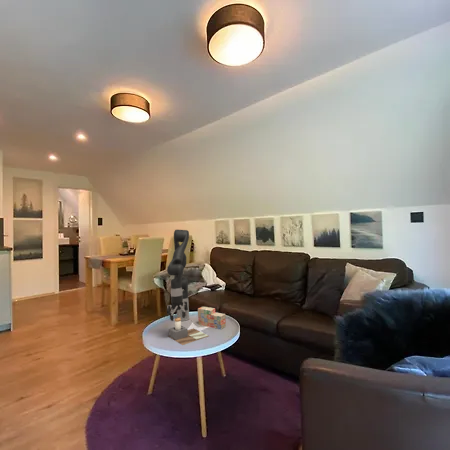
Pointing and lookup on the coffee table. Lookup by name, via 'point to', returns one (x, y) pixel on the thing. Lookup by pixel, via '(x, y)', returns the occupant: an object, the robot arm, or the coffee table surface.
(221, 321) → the stack of blocks
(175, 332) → the grey square frame
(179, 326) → the plug
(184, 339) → the base board
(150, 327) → the coffee table surface
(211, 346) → the coffee table surface
